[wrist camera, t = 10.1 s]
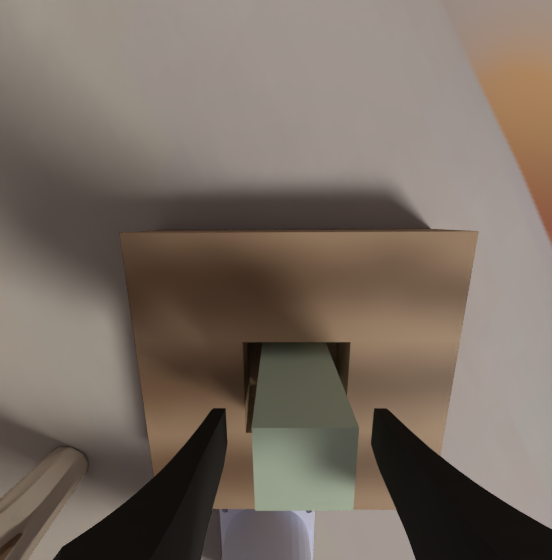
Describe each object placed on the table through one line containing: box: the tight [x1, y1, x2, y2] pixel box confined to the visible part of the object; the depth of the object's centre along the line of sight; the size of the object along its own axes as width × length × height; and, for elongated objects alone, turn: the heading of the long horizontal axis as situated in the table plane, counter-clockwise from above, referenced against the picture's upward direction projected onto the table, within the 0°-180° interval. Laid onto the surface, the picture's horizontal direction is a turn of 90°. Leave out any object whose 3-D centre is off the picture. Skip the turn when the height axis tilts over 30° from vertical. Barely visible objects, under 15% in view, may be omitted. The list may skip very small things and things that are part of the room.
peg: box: [252, 342, 359, 511], centre depth 14 cm, size 4×4×8 cm
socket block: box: [120, 229, 478, 510], centre depth 17 cm, size 18×18×4 cm
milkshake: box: [0, 447, 88, 560], centre depth 16 cm, size 4×5×10 cm
